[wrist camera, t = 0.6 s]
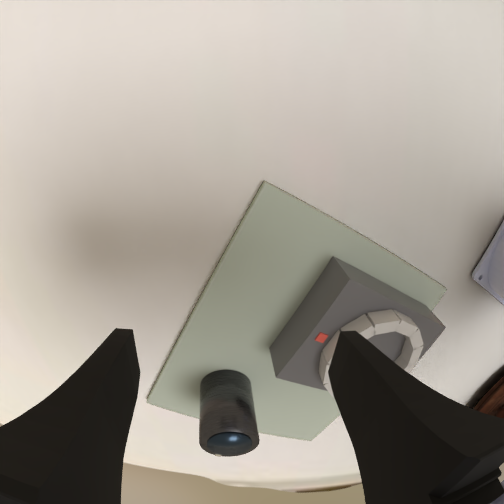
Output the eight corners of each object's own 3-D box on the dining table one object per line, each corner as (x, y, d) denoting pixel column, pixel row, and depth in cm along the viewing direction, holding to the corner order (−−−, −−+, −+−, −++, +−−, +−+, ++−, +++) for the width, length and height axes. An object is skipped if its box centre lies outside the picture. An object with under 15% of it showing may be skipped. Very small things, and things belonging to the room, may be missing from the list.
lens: (260, 377, 23) (270, 436, 18) (237, 406, 25) (242, 462, 20) (212, 363, 22) (214, 424, 17) (192, 394, 24) (190, 451, 19)
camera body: (426, 305, 22) (454, 337, 19) (367, 377, 25) (384, 412, 21) (332, 255, 20) (358, 290, 16) (269, 347, 22) (278, 391, 18)
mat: (443, 286, 23) (447, 289, 22) (309, 437, 29) (310, 441, 28) (264, 180, 18) (265, 182, 17) (147, 398, 24) (146, 402, 24)
